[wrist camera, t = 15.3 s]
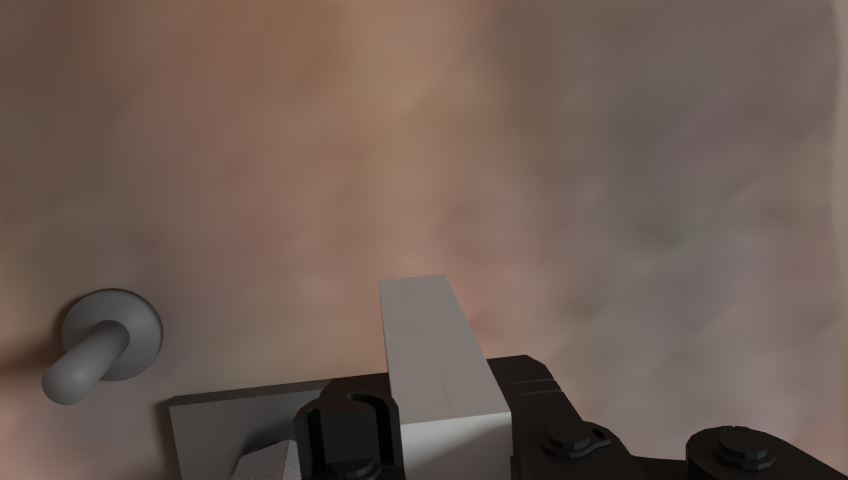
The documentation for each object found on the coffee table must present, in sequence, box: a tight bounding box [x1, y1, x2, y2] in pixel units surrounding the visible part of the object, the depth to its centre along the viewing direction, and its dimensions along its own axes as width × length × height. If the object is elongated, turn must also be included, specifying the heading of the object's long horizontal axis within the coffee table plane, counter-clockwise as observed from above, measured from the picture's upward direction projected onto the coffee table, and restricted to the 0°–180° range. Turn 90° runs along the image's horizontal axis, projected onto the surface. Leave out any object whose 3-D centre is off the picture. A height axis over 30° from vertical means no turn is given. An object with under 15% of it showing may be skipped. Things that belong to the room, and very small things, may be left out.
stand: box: [42, 288, 163, 405], centre depth 40 cm, size 6×6×8 cm
